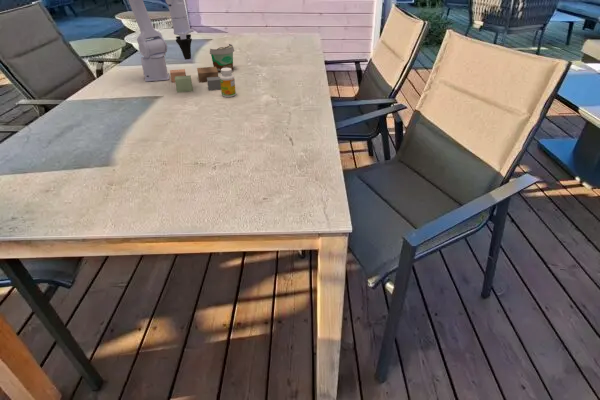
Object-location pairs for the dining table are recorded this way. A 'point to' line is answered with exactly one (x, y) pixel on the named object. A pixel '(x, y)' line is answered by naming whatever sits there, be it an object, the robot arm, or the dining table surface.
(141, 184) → the dining table surface
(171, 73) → the terracotta brick
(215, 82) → the charcoal brick
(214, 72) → the walnut block
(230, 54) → the food container
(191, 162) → the dining table surface
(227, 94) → the supplement bottle
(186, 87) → the sage brick
